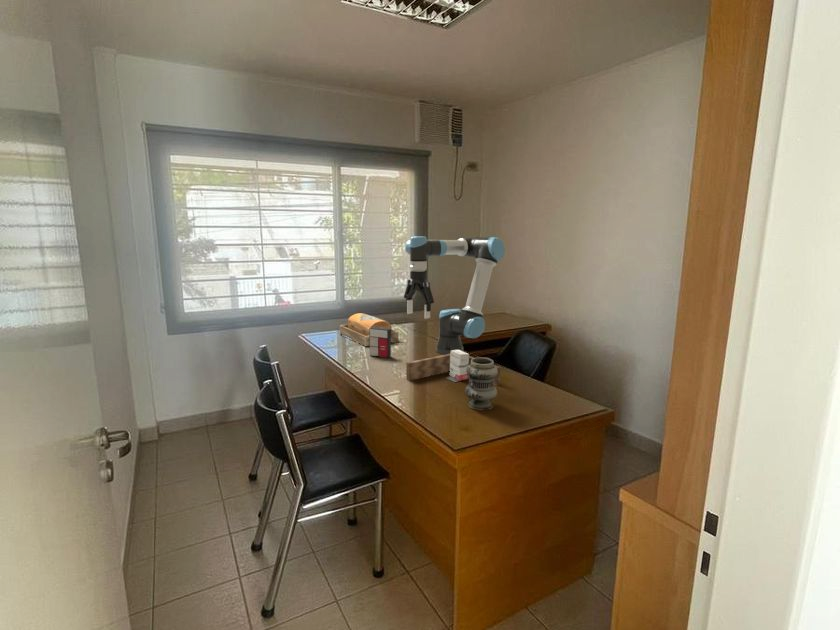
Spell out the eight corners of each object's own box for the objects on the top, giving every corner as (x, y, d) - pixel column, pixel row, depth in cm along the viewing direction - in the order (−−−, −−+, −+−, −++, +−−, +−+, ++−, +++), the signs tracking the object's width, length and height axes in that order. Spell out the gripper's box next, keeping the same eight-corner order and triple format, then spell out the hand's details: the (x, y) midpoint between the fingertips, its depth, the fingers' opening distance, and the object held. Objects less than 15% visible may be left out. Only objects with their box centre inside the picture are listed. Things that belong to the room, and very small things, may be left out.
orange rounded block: (393, 342, 258) (393, 319, 256) (369, 346, 249) (368, 322, 247) (371, 332, 283) (370, 311, 280) (347, 335, 274) (347, 314, 271)
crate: (370, 330, 288) (370, 321, 286) (398, 341, 259) (398, 331, 258) (339, 334, 275) (339, 325, 274) (365, 347, 247) (365, 336, 246)
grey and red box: (369, 356, 230) (368, 328, 227) (372, 354, 233) (372, 326, 230) (387, 358, 225) (387, 330, 223) (391, 356, 229) (391, 328, 226)
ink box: (468, 379, 194) (469, 353, 192) (459, 381, 192) (460, 355, 190) (458, 373, 202) (458, 348, 199) (448, 375, 199) (449, 350, 197)
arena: (458, 367, 211) (458, 351, 209) (499, 384, 188) (500, 367, 187) (406, 379, 194) (406, 362, 193) (444, 399, 172) (445, 380, 170)
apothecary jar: (474, 413, 159) (476, 366, 155) (459, 402, 170) (460, 357, 166) (502, 408, 163) (504, 362, 160) (485, 397, 174) (487, 354, 171)
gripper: (396, 268, 207) (396, 312, 211) (428, 273, 187) (428, 321, 191) (409, 267, 211) (409, 310, 215) (442, 272, 191) (441, 319, 196)
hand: (418, 315), depth 203 cm, fingers open, 13 cm apart
